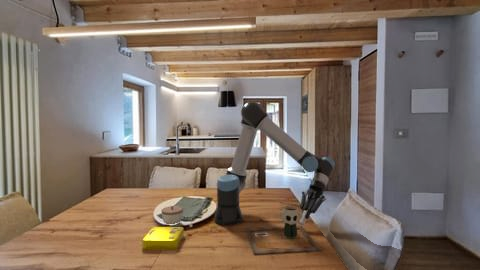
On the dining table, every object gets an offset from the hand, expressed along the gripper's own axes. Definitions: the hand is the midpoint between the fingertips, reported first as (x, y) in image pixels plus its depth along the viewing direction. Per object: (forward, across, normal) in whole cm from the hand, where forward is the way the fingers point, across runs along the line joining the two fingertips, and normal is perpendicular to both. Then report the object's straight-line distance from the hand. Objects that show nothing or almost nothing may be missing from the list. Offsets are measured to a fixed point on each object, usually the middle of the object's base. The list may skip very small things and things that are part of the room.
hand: (301, 223), depth 134 cm
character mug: (+9, 0, +4) cm, 10 cm away
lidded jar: (+30, +52, +25) cm, 65 cm away
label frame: (+13, +1, +8) cm, 16 cm away
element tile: (+40, +37, +34) cm, 64 cm away
